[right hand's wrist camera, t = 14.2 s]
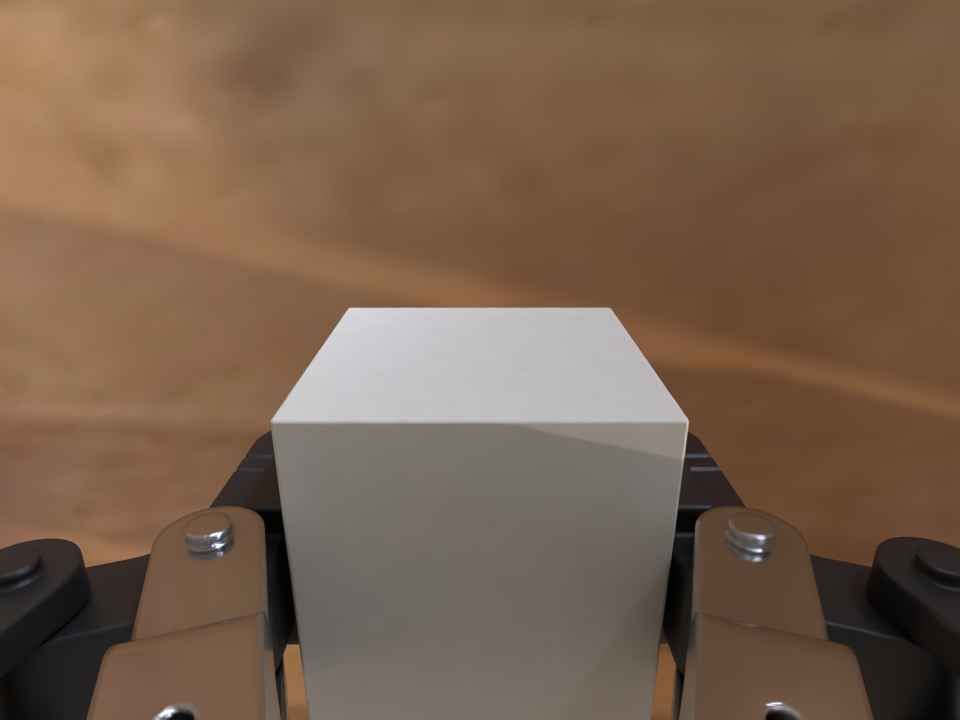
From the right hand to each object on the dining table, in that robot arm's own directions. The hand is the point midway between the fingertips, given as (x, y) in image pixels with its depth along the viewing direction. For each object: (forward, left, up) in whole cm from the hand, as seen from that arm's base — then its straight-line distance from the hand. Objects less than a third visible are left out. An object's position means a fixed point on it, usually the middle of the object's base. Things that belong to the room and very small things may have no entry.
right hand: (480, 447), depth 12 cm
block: (0, 0, 0) cm, 0 cm away
